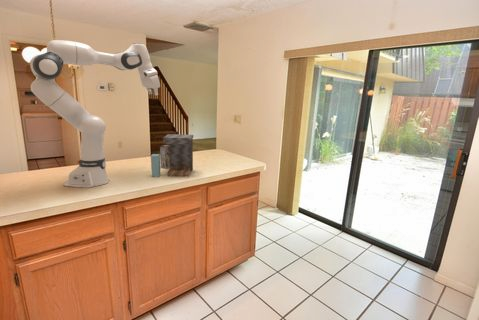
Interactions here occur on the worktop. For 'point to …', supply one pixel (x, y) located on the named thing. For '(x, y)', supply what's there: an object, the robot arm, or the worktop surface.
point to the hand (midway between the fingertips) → (153, 94)
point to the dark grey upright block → (180, 154)
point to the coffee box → (164, 156)
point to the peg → (155, 165)
